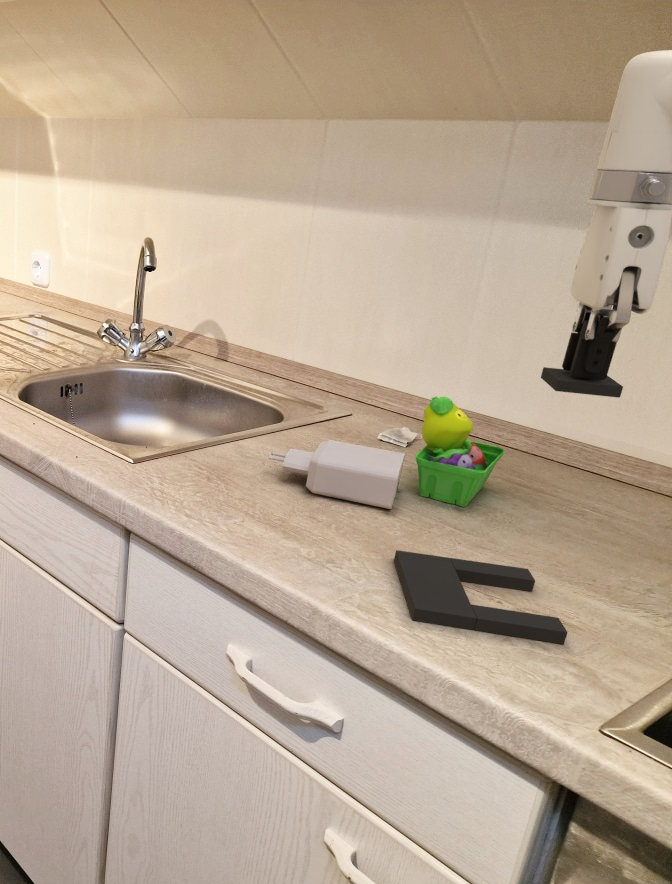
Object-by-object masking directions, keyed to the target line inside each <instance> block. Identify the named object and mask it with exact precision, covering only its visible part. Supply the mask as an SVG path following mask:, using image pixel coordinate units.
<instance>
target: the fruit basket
mask: <svg viewBox="0 0 672 884" xmlns="http://www.w3.org/2000/svg"><path fill="white" fill-rule="evenodd" d="M423 416H424V417H423V418H424V419H423V424H422V430H421V431H422V432H421V433H422V439H423V441H424V443H425V444H426V445H425V446H424V447H423V448H422V449H421V450H419V452H418V453H416V454H415V461H416V462H415V463H416V464H417V473H418V474H417V475H418V491H419V496H421V497H425V498H430V499H432V500H434V501H439V502H443V503H448V504H451V505H456V506H459V507H462V508H465V507H467V505H468V504H469V503H470V502H471V501H472V500H473V499H474V497H475V496H476V495H478V493H479V492H480V490H481V489H482V488H483V487H484V486H485V484H486V483H487V480H488V479H489V477H490V476H491V474H492V472H493V470H494V469H495V466H496V465H497V464H498V462H499V461H500V460H501V458H502V457H503V455H504V454H505V452H506V449H504V448H502V447H500V446H496V445H492V444H487V443H483V442H478V441H473V440H471V439H467V438H468V437H469V435H470V434H471V433H472V432H473V431H474V424H473V422H472V420H471V419H470V418H469V417H468V416H467V414H466V413H465V412H464V411H462V410H461V409H460V408H459V407H458V406H457V405H456V404H455V403H454V401H453V400H452V399H451V398H449V397H447V396H440V397H438V396H433V397H431V400H430V402H429V403H428V404H427V405H426V406H425V408H424V410H423Z"/></svg>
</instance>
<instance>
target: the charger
mask: <svg viewBox="0 0 672 884" xmlns="http://www.w3.org/2000/svg"><path fill="white" fill-rule="evenodd" d="M405 457H406V453H405V452H399V451H394V450H388V449H383V448H377V447H371V446H366V445H361V444H356V443H351V442H350V443H349V442H343V441H340V440H339V441H338V440H333V439H328V440H325V441H322V442H320V443H319V445H318V447H317V448H316V449H315V451H314V452H312V451H309V450H302V449H297V448H289V449H288V451H287V453H283V452H277V451H272V452H271V453H270V455H268V458H267V459H268V460H273V461H278V462H282V466H281V467H282V470H283V472H289V473H293V474H299V475H303V476H307V478H306V483H305V487H306V489H308V490H309V491H310V492H311V493H312V494H316V495H320V496H325V497H330V498H335V499H340V500H344V501H349V502H354V503H358V504H364V505H369V506H373V507H377V508H378V507H379V508H383V509H387V510H392V507H393V505H394V502H395V498H396V495H397V492H398V489H399V484H400V480H401V477H402V472H403V471H402V470H403V468H404V467H403V466H404V462H405Z"/></svg>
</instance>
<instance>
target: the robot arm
mask: <svg viewBox="0 0 672 884" xmlns="http://www.w3.org/2000/svg"><path fill="white" fill-rule="evenodd" d="M611 111H612V112H611V115H610V118H609V121H608V126H607V129H606V133H605V137H604V141H603V145H602V148H601V151H600V155H599V159H598V163H597V166H596V170H595V174H594V178H593V181H592V185H591V189H590V193H589V196H588V200H587V205H590V206H594V207H595V208H594V210H593V213H592V216H591V218H590V221H589V223H588V227H587V230H586V233H585V237H584V239H583V242H582V245H581V249H580V251H579V255H578V259H577V261H576V265H575V269H574V273H573V277H572V281H571V287H570V294H571V296H572V297H573V298H574V299H575V301H576V306H577V309H576V313H575V316H574V320H573V322H572V323H573V324H572V327H571V333H570V335H569V339H568V343H567V346H566V350H565V354H564V358H563V361H562V364H561V367H562V368H561V369H564V370H567V371H570V369H571V366H572V362H573V358H574V355H575V351H576V348H577V344H578V341H579V337H580V334H581V330H582V327H583V323H584V320H589V323H588V326H587V330H586V334H585V339H583V338H580V341H579V345H578V349H577V352H576V356H575V359H574V363H573V366H572V370H571V375H572V376H573V377H576V378H586V379H596V380H604V379H605V378H606V377H607V376H608V373H609V371H610V367H611V363H612V361H613V358H614V357H613V356H614V353H615V350H616V347H617V343H618V342H619V340H620V338H621V334H622V330H623V328H624V327H625V326H627V325H628V324H629V323H630V321H631V315H632V312H633V313H635V314H639V315H643V314H646V313H647V312H649V311H650V310H651V308H652V306H653V303H654V300H655V296H656V292H657V288H658V285H659V281H660V277H661V274H662V268H663V265H664V261H665V256H666V253H667V247H668V243H669V237H670V232H671V225H672V49H666V50H665V49H664V50H655V51H647V52H643V53H640V54H637V55H636V56H633V57H631V59H630V60H629V61H628V62H627V64H626V65H625V66H624V69H623V71H622V74H621V77H620V81H619V85H618V89H617V93H616V95H615V99H614V104H613V107H612V110H611ZM599 321H600V322H599ZM598 322H599V323H598Z"/></svg>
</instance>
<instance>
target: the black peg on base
mask: <svg viewBox="0 0 672 884" xmlns="http://www.w3.org/2000/svg"><path fill="white" fill-rule="evenodd" d="M599 322H600V321H599ZM599 322H598V323H599ZM588 323H589V320H584V323H583V327H582V330H581V334H580V337H579V341H580V338H583V339H585V334H586V330H587V326H588ZM579 341H578V344H577V348H576V351H575V355H574V358H573V362H572V366H573V363H574V359H575V356H576V352H577V349H578V345H579ZM572 366H571V369H570V371H567V370H564V369H563V368H556V367H543V368H542V371H541V375H540V379H541V380H542V381H543V382H545V383H546V384H547V385H548V386H549V387H551V388H552V389H553V390H554V391H555V392H561V393H570V394H571V393H572V394H580V395H590V396H599V397H607V398H617V399H618V398H621V396H622V393H623V389H624V386H623V385H621V384H620V383H619V382H618V381H616V380H615V379H613V378H612V377H610V376H609V375H607V377H606V378H605V379H604V380H596V379H586V378H576V377H573V376H572V375H571V370H572Z"/></svg>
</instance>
